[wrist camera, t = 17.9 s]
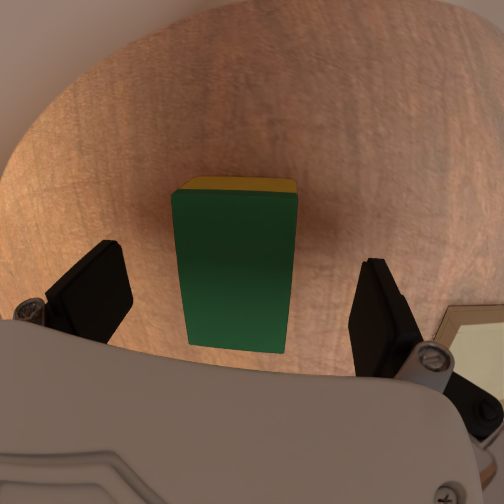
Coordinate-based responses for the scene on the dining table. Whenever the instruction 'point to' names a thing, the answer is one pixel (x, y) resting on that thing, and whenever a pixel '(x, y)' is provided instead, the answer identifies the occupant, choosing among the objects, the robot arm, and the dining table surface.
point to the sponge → (236, 260)
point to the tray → (476, 345)
